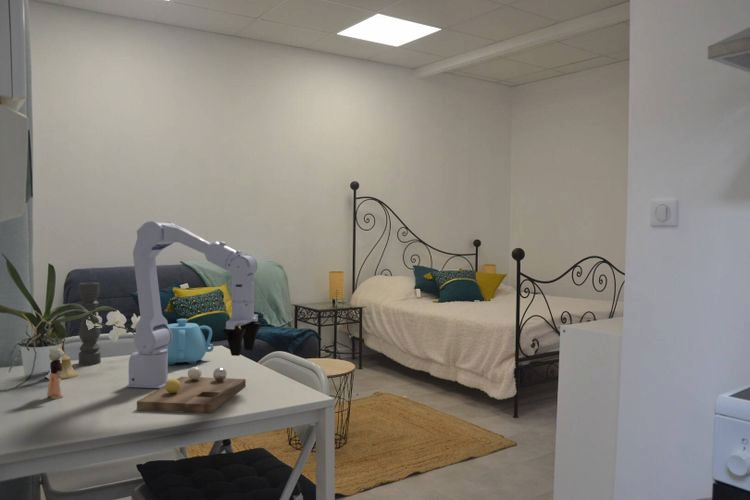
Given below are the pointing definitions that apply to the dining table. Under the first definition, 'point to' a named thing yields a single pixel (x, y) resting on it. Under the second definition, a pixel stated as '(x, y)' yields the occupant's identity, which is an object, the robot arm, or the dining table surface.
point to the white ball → (194, 373)
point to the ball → (172, 385)
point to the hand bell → (67, 366)
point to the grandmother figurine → (55, 373)
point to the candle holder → (88, 337)
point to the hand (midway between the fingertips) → (242, 352)
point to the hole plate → (193, 395)
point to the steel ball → (219, 374)
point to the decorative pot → (187, 342)
